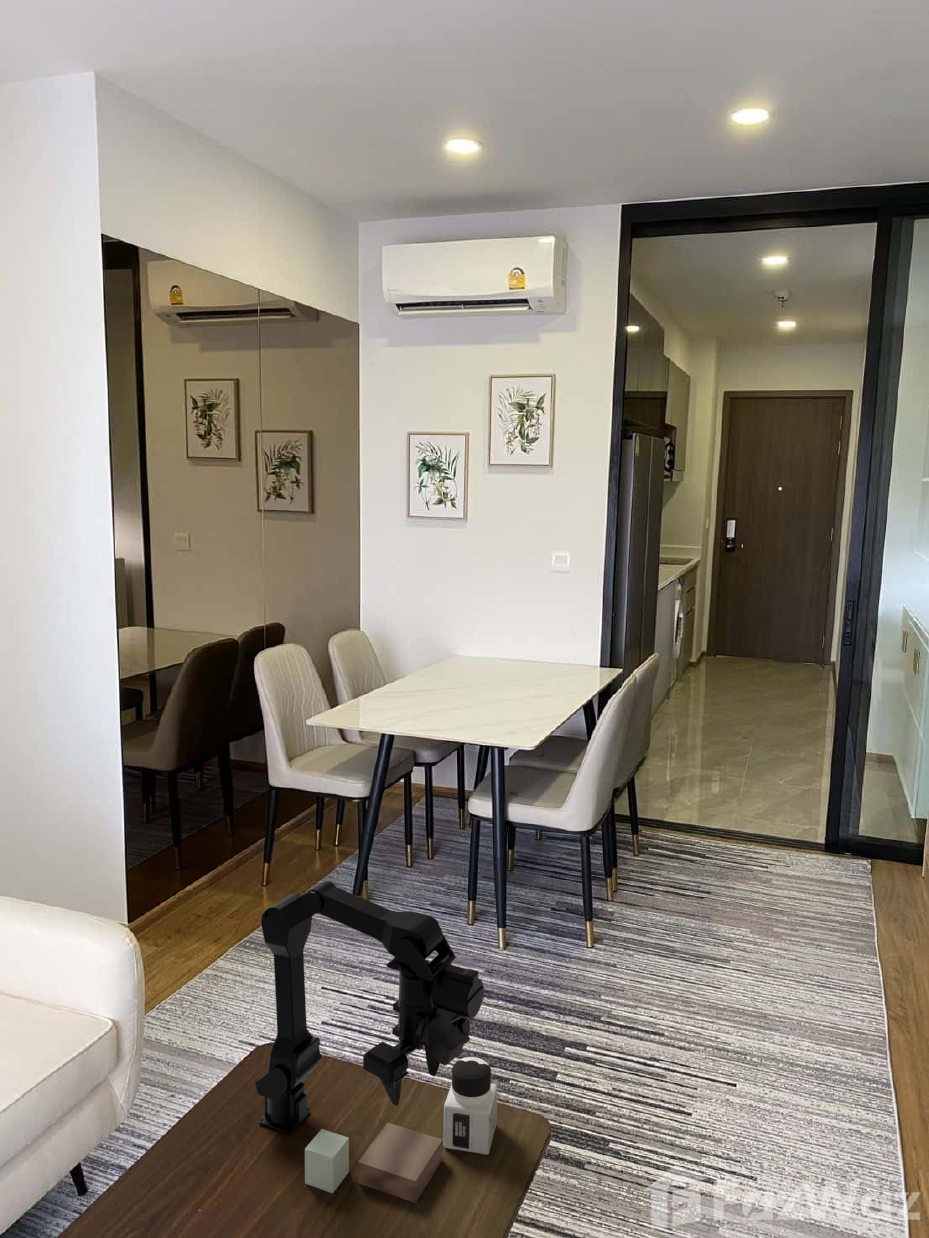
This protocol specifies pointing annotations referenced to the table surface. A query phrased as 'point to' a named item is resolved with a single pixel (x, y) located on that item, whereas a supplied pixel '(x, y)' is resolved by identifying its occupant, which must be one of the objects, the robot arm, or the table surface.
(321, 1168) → the sage block
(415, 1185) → the walnut box
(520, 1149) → the table surface
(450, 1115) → the container
